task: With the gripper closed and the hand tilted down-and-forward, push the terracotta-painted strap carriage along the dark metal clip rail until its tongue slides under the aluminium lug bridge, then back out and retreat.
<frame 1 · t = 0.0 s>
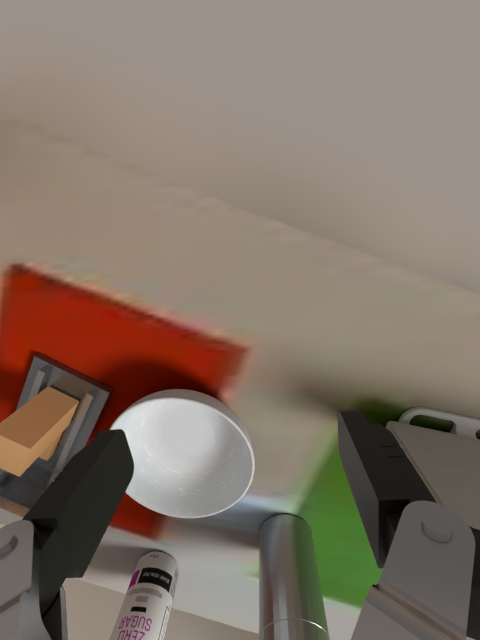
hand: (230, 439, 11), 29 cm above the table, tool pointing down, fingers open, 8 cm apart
supplement can: (159, 562, 57), on the table
network device: (455, 439, 44), on the table
clip rail: (52, 431, 48), on the table
strap carriage: (28, 444, 41), point 6 cm above the table, slide at 0.0 cm
serving bowl: (190, 429, 47), on the table
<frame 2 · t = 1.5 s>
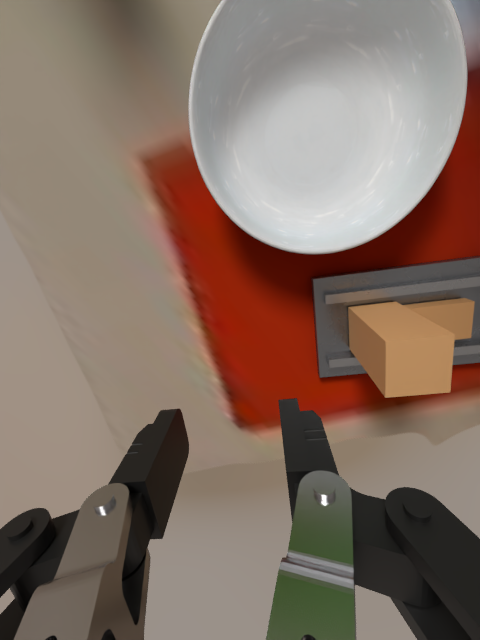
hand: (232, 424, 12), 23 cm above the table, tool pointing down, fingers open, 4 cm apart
clip rail: (430, 314, 33), on the table
strap carriage: (430, 339, 27), point 6 cm above the table, slide at 0.0 cm
serving bowl: (308, 140, 29), on the table
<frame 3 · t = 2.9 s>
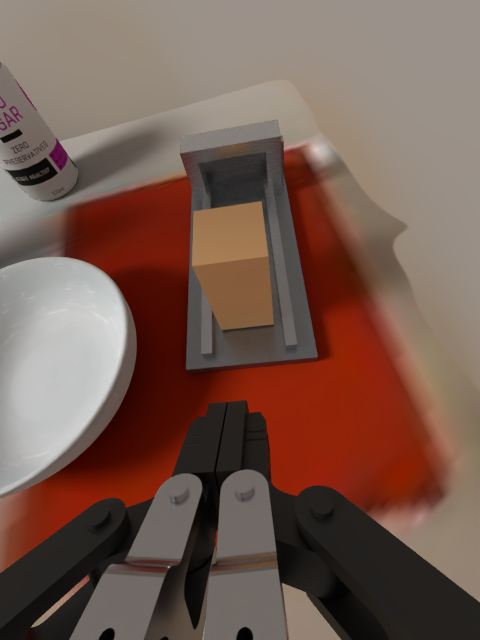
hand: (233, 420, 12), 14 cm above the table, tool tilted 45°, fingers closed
supplement can: (56, 185, 45), on the table
clip rail: (243, 258, 33), on the table
strap carriage: (236, 242, 26), point 6 cm above the table, slide at 0.0 cm
serving bowl: (62, 379, 30), on the table
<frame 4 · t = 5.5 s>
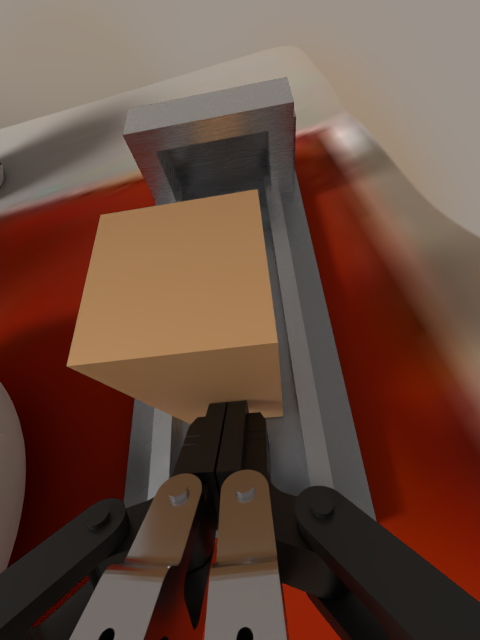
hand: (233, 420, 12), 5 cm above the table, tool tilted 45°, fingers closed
clip rail: (233, 305, 20), on the table
strap carriage: (212, 272, 14), point 7 cm above the table, slide at 1.6 cm, touching gripper
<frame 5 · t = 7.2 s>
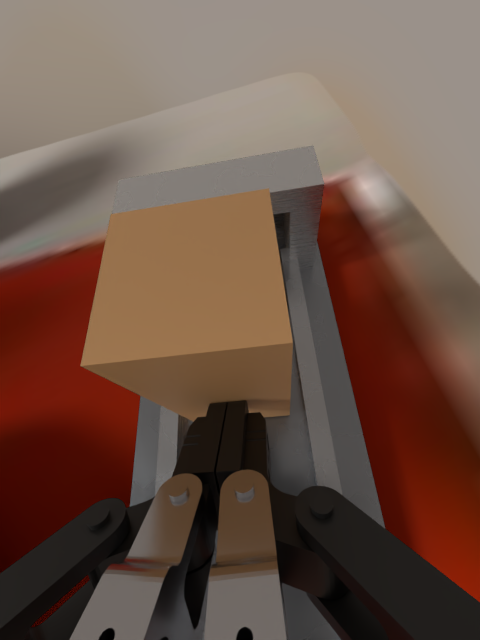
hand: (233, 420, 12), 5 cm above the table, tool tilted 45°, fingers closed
clip rail: (245, 414, 17), on the table
strap carriage: (220, 271, 14), point 6 cm above the table, slide at 9.0 cm, touching gripper
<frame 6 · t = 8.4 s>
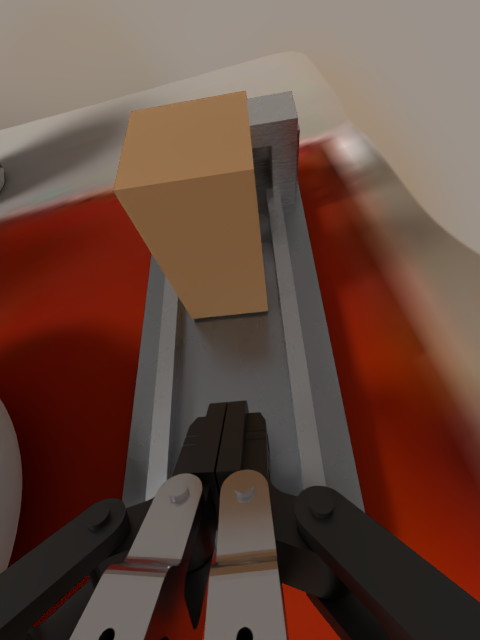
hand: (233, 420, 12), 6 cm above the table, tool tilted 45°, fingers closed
clip rail: (232, 319, 20), on the table
strap carriage: (212, 186, 17), point 6 cm above the table, slide at 9.1 cm
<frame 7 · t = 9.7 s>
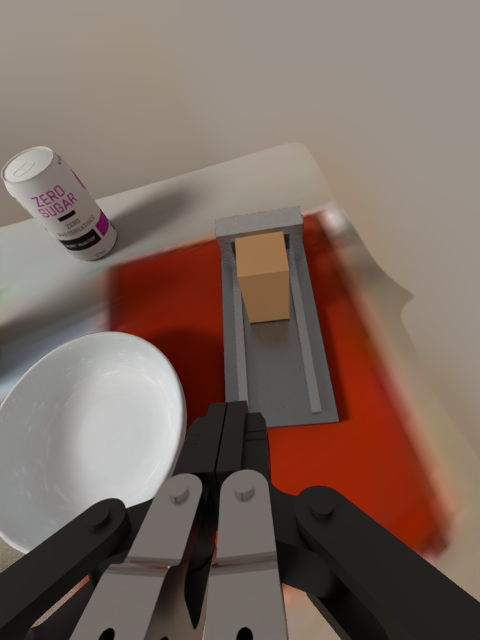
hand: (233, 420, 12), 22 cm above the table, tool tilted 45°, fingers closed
supplement can: (97, 245, 50), on the table
clip rail: (269, 322, 38), on the table
strap carriage: (261, 258, 35), point 7 cm above the table, slide at 9.1 cm
serving bowl: (117, 433, 35), on the table
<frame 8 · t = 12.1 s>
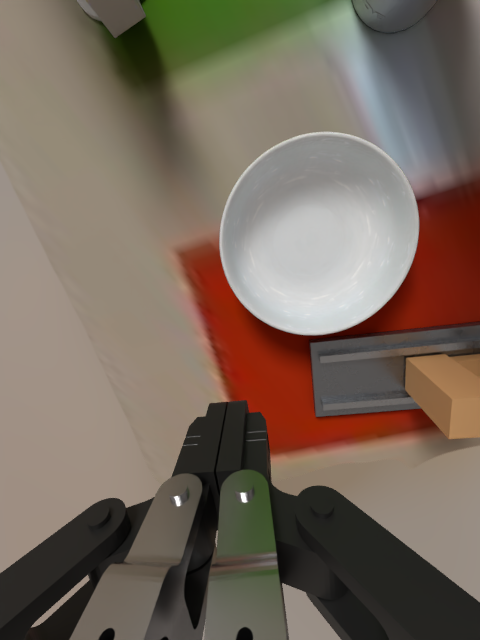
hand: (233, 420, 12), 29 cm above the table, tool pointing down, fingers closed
clip rail: (403, 368, 42), on the table
strap carriage: (477, 389, 35), point 6 cm above the table, slide at 9.1 cm
serving bowl: (306, 240, 37), on the table
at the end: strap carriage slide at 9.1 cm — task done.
